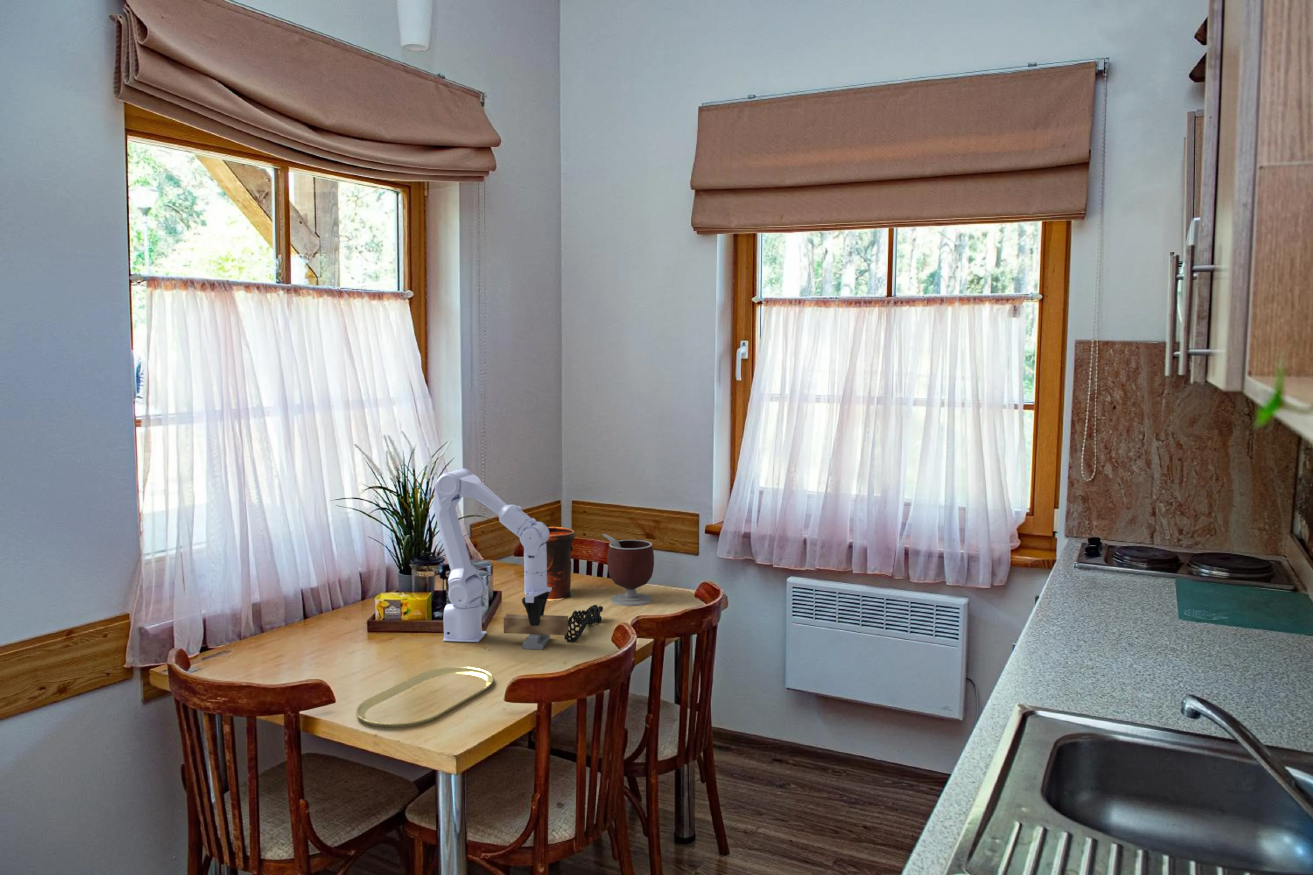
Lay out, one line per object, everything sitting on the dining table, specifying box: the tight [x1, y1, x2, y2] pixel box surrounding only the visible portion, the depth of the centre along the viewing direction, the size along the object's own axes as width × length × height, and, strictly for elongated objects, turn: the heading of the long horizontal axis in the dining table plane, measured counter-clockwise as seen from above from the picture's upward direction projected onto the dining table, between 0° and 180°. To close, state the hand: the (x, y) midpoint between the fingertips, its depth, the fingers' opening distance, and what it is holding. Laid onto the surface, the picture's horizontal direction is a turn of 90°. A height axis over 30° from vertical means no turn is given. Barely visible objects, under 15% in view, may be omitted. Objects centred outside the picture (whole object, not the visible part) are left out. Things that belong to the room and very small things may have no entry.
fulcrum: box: [522, 634, 551, 650], centre depth 245 cm, size 5×9×3 cm, turn 174°
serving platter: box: [355, 666, 494, 729], centre depth 208 cm, size 19×35×2 cm, turn 155°
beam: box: [503, 613, 569, 636], centre depth 244 cm, size 16×4×4 cm, turn 84°
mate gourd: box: [602, 533, 655, 607], centre depth 285 cm, size 16×14×20 cm
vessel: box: [542, 526, 576, 602], centre depth 291 cm, size 14×14×20 cm
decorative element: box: [563, 604, 604, 643], centre depth 256 cm, size 22×5×6 cm, turn 166°
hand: (536, 622), depth 244 cm, fingers closed on beam, 3 cm apart
